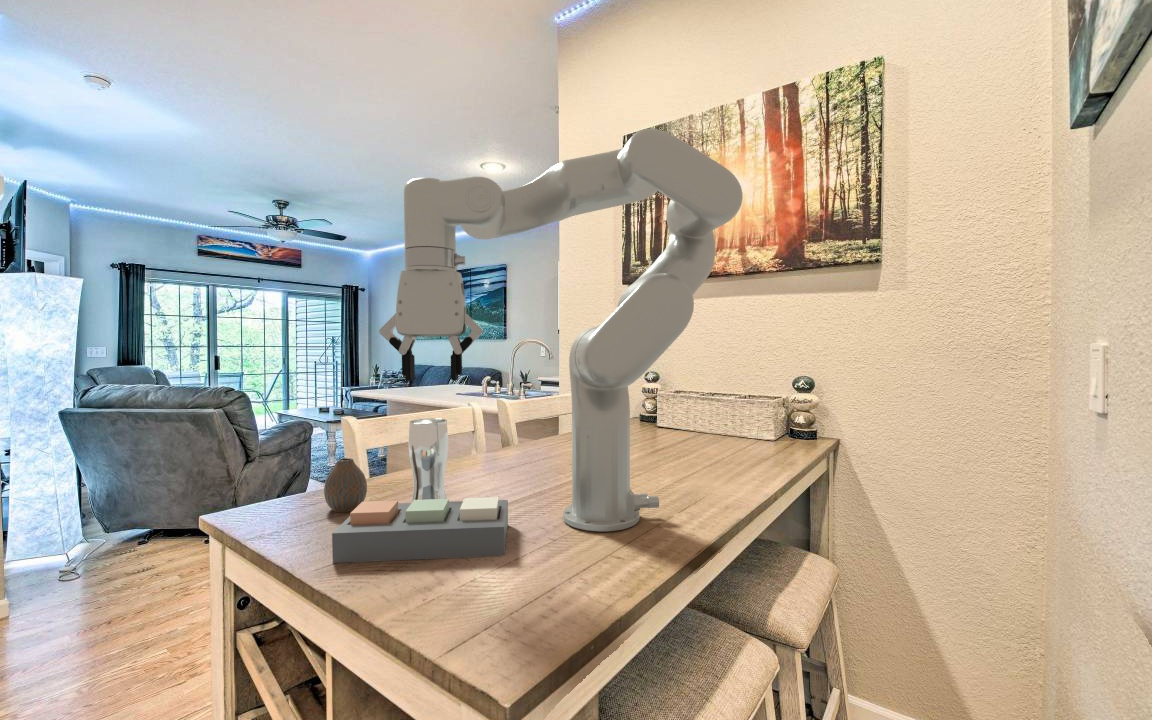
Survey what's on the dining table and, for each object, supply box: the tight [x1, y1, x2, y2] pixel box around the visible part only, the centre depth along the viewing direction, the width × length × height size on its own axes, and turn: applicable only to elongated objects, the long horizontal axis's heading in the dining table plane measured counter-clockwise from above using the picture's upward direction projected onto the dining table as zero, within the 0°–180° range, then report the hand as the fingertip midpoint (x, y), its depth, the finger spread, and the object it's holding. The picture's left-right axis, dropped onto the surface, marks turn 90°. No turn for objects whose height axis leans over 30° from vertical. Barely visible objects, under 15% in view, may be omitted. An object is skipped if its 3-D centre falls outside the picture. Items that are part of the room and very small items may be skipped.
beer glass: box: [408, 417, 449, 503], centre depth 93 cm, size 7×7×15 cm
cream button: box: [460, 496, 500, 521], centre depth 75 cm, size 5×5×4 cm
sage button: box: [405, 498, 450, 523], centre depth 74 cm, size 5×5×4 cm
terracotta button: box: [349, 500, 399, 525], centre depth 74 cm, size 5×5×4 cm
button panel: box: [331, 499, 509, 564], centre depth 74 cm, size 23×12×4 cm, turn 95°
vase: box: [323, 457, 368, 513], centre depth 90 cm, size 7×7×9 cm
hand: (432, 379), depth 79 cm, fingers open, 6 cm apart
